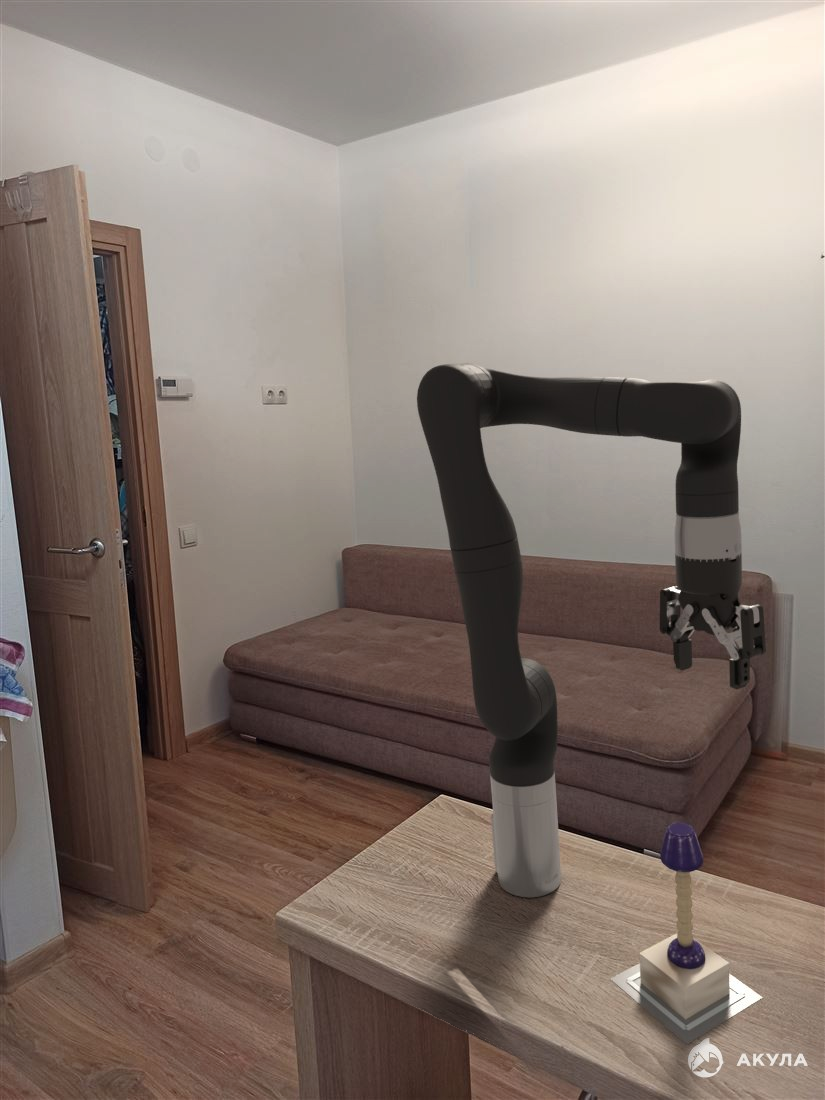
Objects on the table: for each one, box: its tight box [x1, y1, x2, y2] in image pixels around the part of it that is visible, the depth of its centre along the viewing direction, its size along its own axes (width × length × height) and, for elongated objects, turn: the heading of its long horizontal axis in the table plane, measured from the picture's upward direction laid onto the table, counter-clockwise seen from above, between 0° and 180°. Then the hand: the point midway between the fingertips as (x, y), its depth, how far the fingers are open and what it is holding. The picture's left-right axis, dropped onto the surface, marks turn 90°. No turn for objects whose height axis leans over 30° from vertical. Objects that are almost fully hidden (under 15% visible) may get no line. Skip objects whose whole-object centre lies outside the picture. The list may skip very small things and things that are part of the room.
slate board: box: [609, 962, 764, 1045], centre depth 96 cm, size 12×12×1 cm
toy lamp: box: [659, 822, 706, 969], centre depth 93 cm, size 5×5×17 cm
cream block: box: [639, 932, 730, 1019], centre depth 96 cm, size 7×7×4 cm
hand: (710, 677), depth 101 cm, fingers open, 8 cm apart
